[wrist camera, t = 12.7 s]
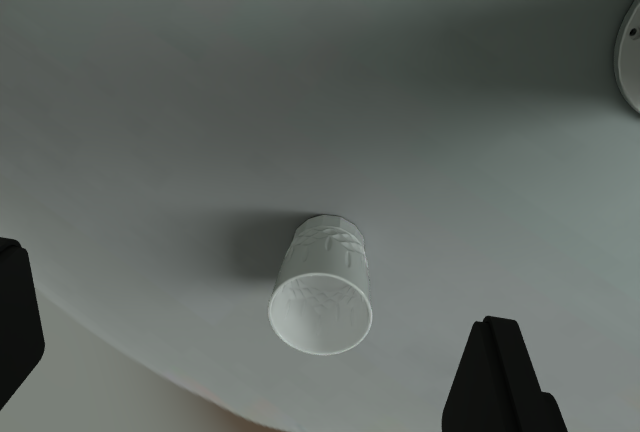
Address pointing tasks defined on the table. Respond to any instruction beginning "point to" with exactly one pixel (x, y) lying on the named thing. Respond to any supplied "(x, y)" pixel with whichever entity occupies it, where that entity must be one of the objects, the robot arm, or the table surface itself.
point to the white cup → (323, 288)
